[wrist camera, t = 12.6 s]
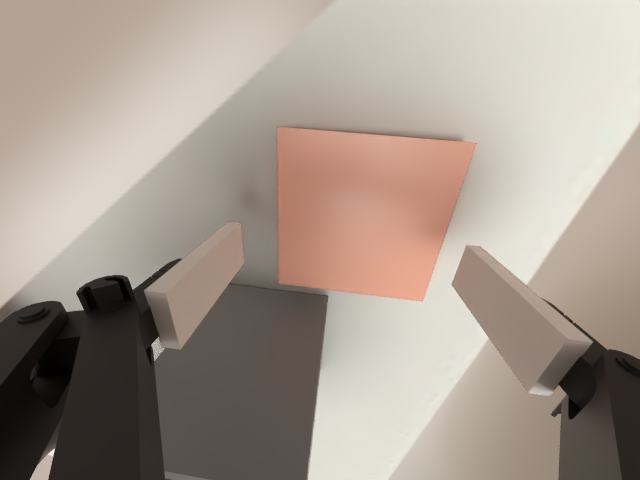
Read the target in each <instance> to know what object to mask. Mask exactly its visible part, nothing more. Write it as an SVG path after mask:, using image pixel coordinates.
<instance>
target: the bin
mask: <svg viewBox="0 0 640 480" xmlns="http://www.w3.org/2000/svg"><path fill="white" fill-rule="evenodd" d="M327 303H328V296H322V295H314V294H306V293H298V292H290V291H282V290H274V289H266V288H258V287H250V286H242V285H234V284H228V286H227V287H226V288H225V290H224V291H223V292H222V294H221V295H220V296H219V298H218V299H217V301H216V302H215V303H214V305H213V306H212V307H211V309H210V310H209V312H208V313H207V314H206V316H205V317H204V318H203V320H202V321H201V322H200V324H199V325H198V327H197V328H196V329H195V331H194V332H193V333H192V335H191V336H190V338H189V339H188V340H187V342H186V343H185V344H184V346H183V347H182V348H181V350H180V349H172V348H165V349H164V351H163V352H162V353H161V354H160V355H159V357H158V358H157V359H156V360H155V361H154V366H155V377H156V388H157V399H158V409H159V420H160V431H161V441H162V452H163V463H164V473H165V480H308V473H309V464H310V456H311V447H312V438H313V429H314V421H315V412H316V403H317V394H318V386H319V377H320V368H321V359H322V349H323V340H324V331H325V321H326V312H327Z"/></svg>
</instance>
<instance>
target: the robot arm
mask: <svg viewBox="0 0 640 480" xmlns="http://www.w3.org/2000/svg"><path fill="white" fill-rule="evenodd" d="M243 264H244V253H243V240H242V228H241V223H238V222H227V223H226V224H225V225H224V226H223V227H221V228H220V229H219V230H218V231H216V232H215V233H214V234H213V235H211V236H210V237H209V238H208V239H207V240H205V241H204V242H203V243H202V244H200V245H199V246H198V247H197V248H196V249H194V250H193V251H192V252H191V253H189V254H188V255H187V256H186V257H185V258H183V259H177V260H174V261H172V262H170V263H168V264H166V265H165V266H164V267H162V268H161V269H160V270H159V271H157V272H156V273H155V274H153V275H152V277H149V278H148V279H147V280H146V281H144V282H143V283H142V284H140V285H139V286H138V287H136V288H135V289H134V290H132V287H131V285H130V282H129V279H128V278H127V277H125V276H122V275H112V276H105V277H102V278H98V279H95V280H93V281H91V282H89V283H86V284H85V285H84V286H82V287H81V288H79V290H78V291H77V293H76V294H77V296H78V298H79V300H80V302H81V304H82V306H83V308H84V310H82V311H72V312H66V310H65V309H64V307H63V305H62V303H61V302H57V301H46V302H41V303H36V304H32V305H30V306H26V307H24V308H22V309H20V310H18V311H16V312H14V313H12V314H11V315H10V316H8V317H7V318H6V319H4V320H3V321H2V322H1V323H0V480H30V478H31V476H32V474H33V472H34V470H35V468H36V466H37V465H38V464H39V463H40V462H41V460H42V459H43V458H44V457H45V456H46V455H47V454H48V453H49V452H51V451H52V450H53V449H54V448H55V452H54V456H53V461H52V466H51V470H50V474H49V479H48V480H165V473H164V463H163V452H162V441H161V431H160V420H159V409H158V399H157V388H156V377H155V366H154V356H153V349H152V346H151V344H152V343H153V342H154V341H155V340H156V339H157V337H159V340H160V343H161V346H162V347H164V348H172V349H180V350H181V348H182V347H183V346H184V344H185V343H186V342H187V340H188V339H189V338H190V336H191V335H192V333H193V332H194V331H195V329H196V328H197V327H198V325H199V324H200V322H201V321H202V320H203V318H204V317H205V316H206V314H207V313H208V312H209V310H210V309H211V307H212V306H213V305H214V303H215V302H216V301H217V299H218V298H219V296H220V295H221V294H222V292H223V291H224V290H225V288H226V287H227V286H228V284H229V283H230V281H231V280H232V279H233V277H234V276H235V275H236V273H237V272H238V270H239V269H240V268H241V266H242V265H243ZM452 286H453V287H454V289H455V290H456V292H457V293H458V294H459V296H460V297H461V299H462V300H463V302H464V303H465V304H466V306H467V307H468V309H469V310H470V311H471V313H472V314H473V316H474V317H475V319H476V320H477V321H478V323H479V324H480V326H481V327H482V329H483V330H484V331H485V333H486V334H487V336H488V337H489V338H490V340H491V341H492V343H493V344H494V346H495V347H496V348H497V350H498V351H499V353H500V354H501V356H502V357H503V358H504V360H505V361H506V363H507V364H508V365H509V367H510V368H511V370H512V371H513V372H514V374H515V375H516V377H517V378H518V380H519V381H520V383H521V384H522V385H523V387H524V388H525V389H526V391H527V392H528V393H531V394H540V395H548V396H550V395H551V394H552V392H553V391H554V390H555V389H556V388H557V386H558V385H560V387H561V388H562V389H563V390H564V391H565V392H566V394H567V395H566V396H565V397H564V399H563V400H562V401H561V402H560V403H559V404H558V406H557V407H556V408H555V409H554V410H553V412H552V414H551V415H552V416H554V417H555V416H556V415H557V414H561V431H560V455H559V456H560V457H559V479H558V480H640V360H639V359H637V358H635V357H633V356H631V355H629V354H626V353H623V352H620V351H616V350H611V349H610V350H607V349H606V348H604V347H603V346H602V345H601V344H600V343H598V342H597V341H596V340H595V339H593V338H592V337H591V336H590V335H589V334H588V333H586V332H585V331H584V330H583V329H582V328H580V327H579V326H578V325H577V324H576V323H573V321H572V320H571V319H569V318H568V317H567V316H566V315H564V314H563V313H562V312H561V311H560V310H559V309H557V308H556V307H555V306H554V305H553V304H551V303H549V302H548V301H546V300H544V299H543V298H541V297H540V296H538V295H537V294H536V293H535V292H534V291H532V290H531V289H530V288H529V287H528V286H527V285H525V284H524V283H523V282H522V281H521V280H520V279H518V278H517V277H516V276H515V275H514V274H512V273H511V272H510V271H509V270H508V269H507V268H505V267H504V266H503V265H502V264H501V263H499V262H498V261H497V260H496V259H495V258H494V257H492V256H491V255H490V254H489V253H488V252H487V251H485V250H484V249H483V248H482V247H481V246H471V245H467V246H466V248H465V251H464V253H463V256H462V259H461V261H460V264H459V267H458V269H457V272H456V274H455V277H454V280H453V282H452Z"/></svg>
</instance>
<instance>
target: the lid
mask: <svg viewBox="0 0 640 480" xmlns="http://www.w3.org/2000/svg"><path fill="white" fill-rule="evenodd" d="M476 144H477V143H472V142H462V141H450V140H437V139H425V138H413V137H400V136H388V135H376V134H363V133H351V132H339V131H326V130H314V129H302V128H289V127H277V160H278V276H279V284H286V285H294V286H302V287H310V288H318V289H326V290H334V291H342V292H350V293H359V294H367V295H375V296H383V297H391V298H399V299H407V300H415V301H423V299H424V297H425V294H426V291H427V288H428V285H429V282H430V279H431V276H432V273H433V270H434V267H435V264H436V261H437V258H438V255H439V252H440V249H441V247H442V244H443V241H444V238H445V235H446V232H447V229H448V226H449V223H450V220H451V217H452V214H453V211H454V208H455V205H456V202H457V200H458V197H459V194H460V191H461V188H462V185H463V182H464V179H465V176H466V173H467V170H468V167H469V164H470V161H471V158H472V155H473V153H474V150H475V147H476Z"/></svg>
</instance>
